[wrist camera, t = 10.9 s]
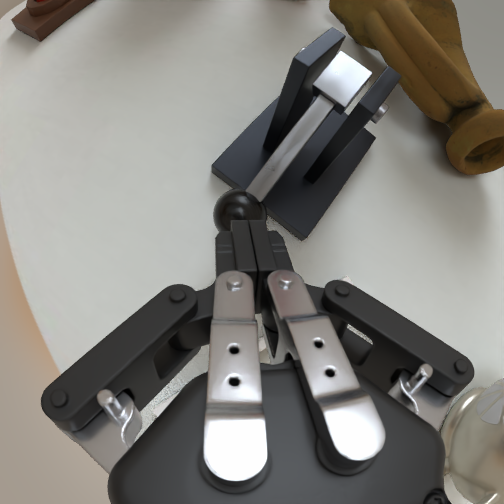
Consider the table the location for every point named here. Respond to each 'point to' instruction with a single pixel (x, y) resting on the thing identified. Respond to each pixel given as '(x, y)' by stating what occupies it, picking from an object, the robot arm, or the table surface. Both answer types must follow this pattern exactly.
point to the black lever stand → (318, 147)
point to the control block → (46, 16)
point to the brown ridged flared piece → (431, 72)
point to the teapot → (477, 444)
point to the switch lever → (294, 140)
